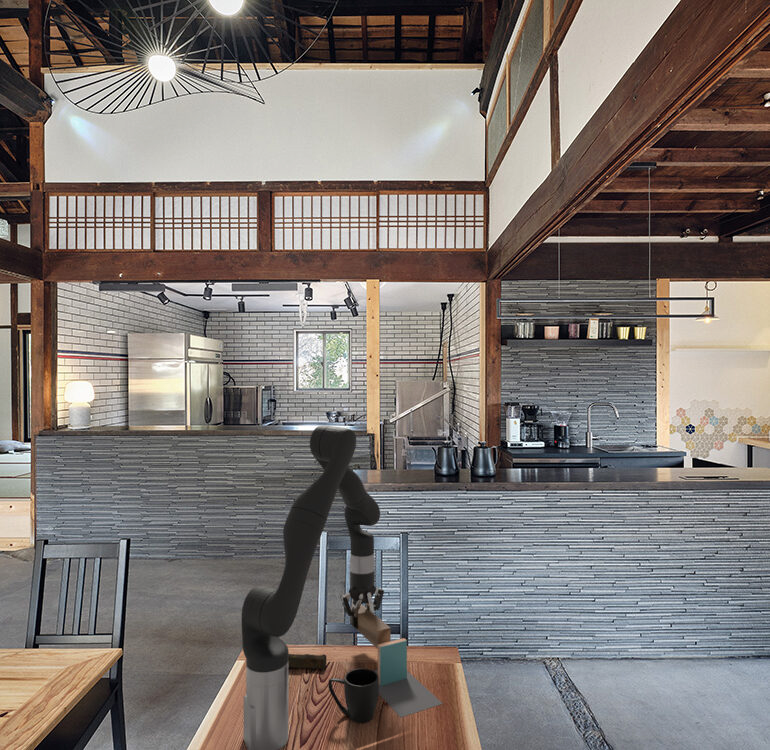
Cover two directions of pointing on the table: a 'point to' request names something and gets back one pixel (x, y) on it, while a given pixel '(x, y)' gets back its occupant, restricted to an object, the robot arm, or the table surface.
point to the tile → (392, 661)
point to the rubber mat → (407, 696)
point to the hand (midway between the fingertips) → (362, 626)
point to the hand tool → (307, 661)
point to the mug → (358, 694)
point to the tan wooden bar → (373, 627)
